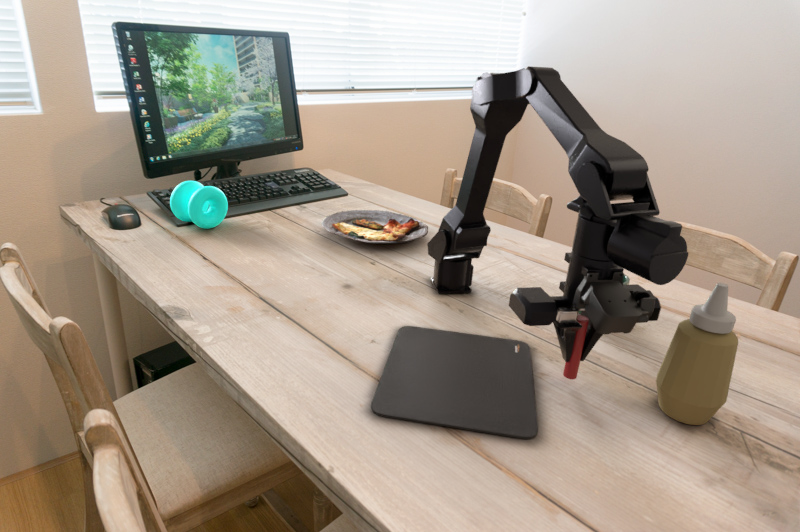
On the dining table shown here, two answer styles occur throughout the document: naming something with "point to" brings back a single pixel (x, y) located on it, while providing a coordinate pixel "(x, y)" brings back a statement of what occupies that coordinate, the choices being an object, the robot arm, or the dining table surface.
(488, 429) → the mouse pad
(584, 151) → the robot arm
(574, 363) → the red wooden peg
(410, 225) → the food plate
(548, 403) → the dining table surface
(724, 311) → the squeeze bottle
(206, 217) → the turquoise spool
